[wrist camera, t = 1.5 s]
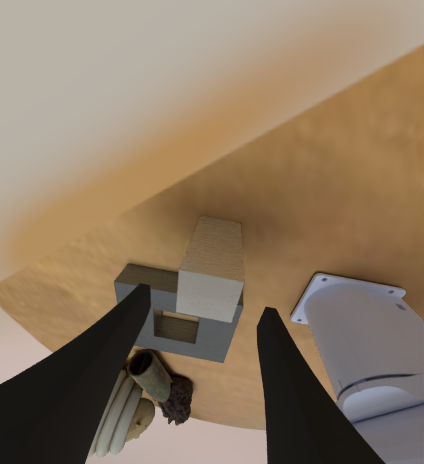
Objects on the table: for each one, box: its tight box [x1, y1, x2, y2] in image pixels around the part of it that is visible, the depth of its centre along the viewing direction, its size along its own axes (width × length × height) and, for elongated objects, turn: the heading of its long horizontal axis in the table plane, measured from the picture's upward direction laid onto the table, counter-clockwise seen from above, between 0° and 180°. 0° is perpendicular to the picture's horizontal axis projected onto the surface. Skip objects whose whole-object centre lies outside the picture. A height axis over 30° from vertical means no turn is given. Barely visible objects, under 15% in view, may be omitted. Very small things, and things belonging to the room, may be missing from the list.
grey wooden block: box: [176, 216, 244, 323], centre depth 15 cm, size 4×4×8 cm
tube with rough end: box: [127, 349, 193, 425], centre depth 33 cm, size 18×7×6 cm, turn 19°
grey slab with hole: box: [114, 264, 243, 363], centre depth 24 cm, size 14×12×3 cm
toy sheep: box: [87, 370, 155, 457], centre depth 31 cm, size 11×17×11 cm, turn 78°
